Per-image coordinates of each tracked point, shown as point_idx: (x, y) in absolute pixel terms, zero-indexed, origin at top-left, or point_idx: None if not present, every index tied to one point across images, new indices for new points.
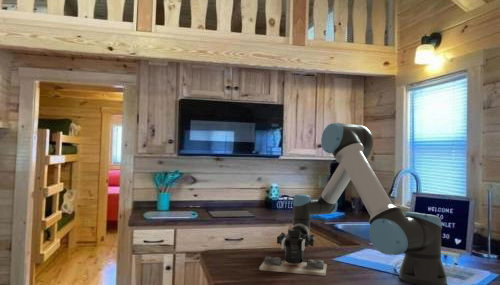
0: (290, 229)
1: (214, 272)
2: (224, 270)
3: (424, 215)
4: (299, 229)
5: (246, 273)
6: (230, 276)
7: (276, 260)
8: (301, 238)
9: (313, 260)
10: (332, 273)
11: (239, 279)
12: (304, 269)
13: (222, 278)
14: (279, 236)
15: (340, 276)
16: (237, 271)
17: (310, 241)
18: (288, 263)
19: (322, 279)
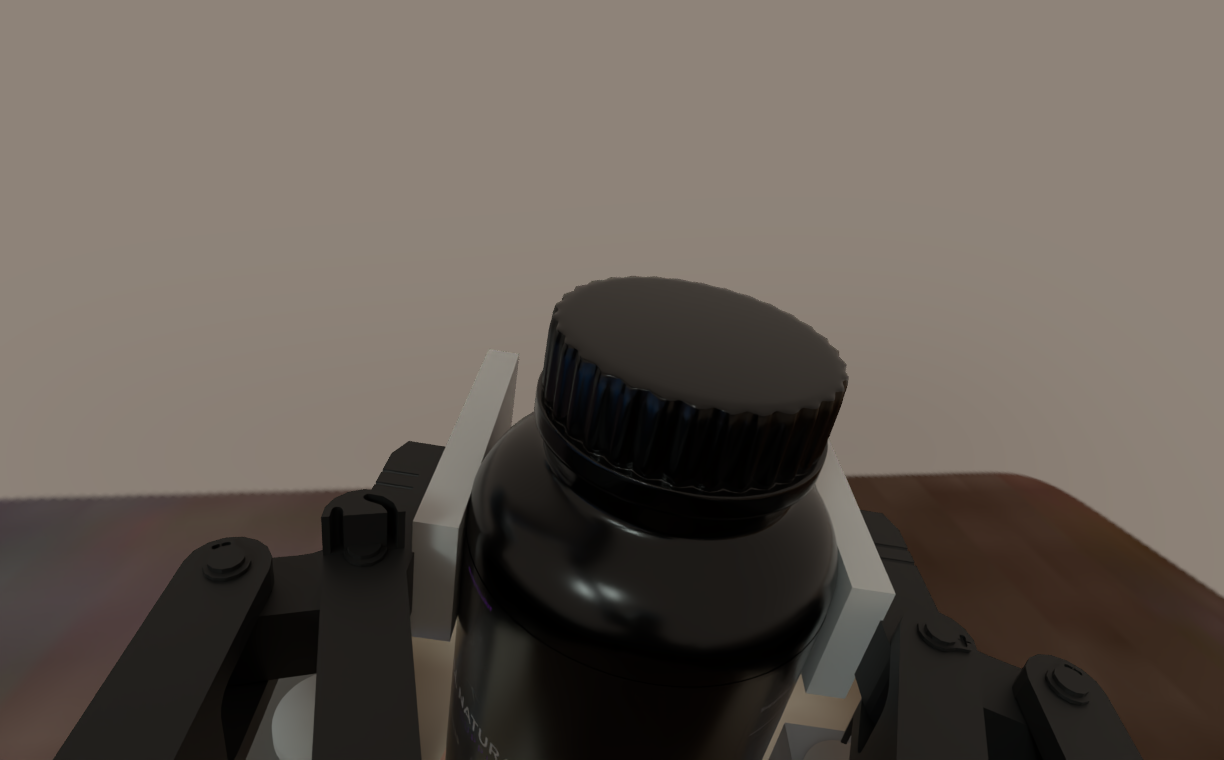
0: (791, 346)
1: (1197, 594)
2: (1191, 647)
3: None
4: (583, 344)
5: (973, 593)
6: (1020, 529)
7: (832, 731)
8: (516, 424)
9: (276, 718)
10: (71, 678)
11: (925, 487)
12: (446, 654)
13: (1031, 497)
14: (1099, 755)
15: (44, 587)
16: (1078, 633)
17: (286, 564)
18: None
19: (310, 508)
